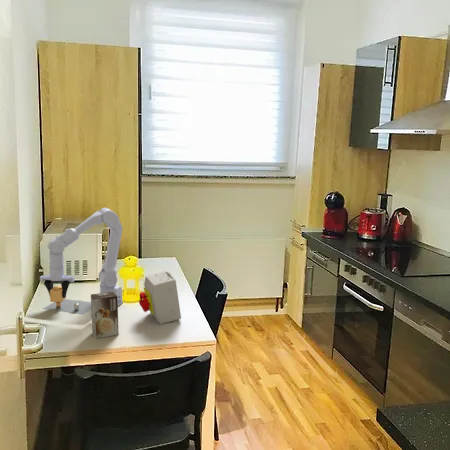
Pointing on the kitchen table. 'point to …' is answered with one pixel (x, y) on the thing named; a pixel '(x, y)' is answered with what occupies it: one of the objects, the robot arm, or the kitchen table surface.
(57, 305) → the pigtail posts
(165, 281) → the electrical switch box
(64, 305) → the terminal board
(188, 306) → the kitchen table surface
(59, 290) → the light orange block
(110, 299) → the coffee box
